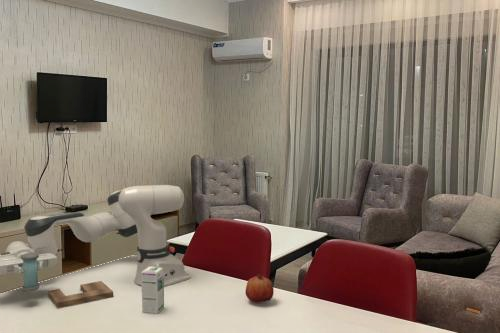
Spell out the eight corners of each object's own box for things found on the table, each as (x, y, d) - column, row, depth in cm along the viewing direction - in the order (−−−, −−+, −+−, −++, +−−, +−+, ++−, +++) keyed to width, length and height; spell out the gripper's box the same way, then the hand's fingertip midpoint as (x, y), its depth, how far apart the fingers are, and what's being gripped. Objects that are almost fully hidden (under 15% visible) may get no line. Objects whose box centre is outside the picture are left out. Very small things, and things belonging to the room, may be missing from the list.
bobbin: (37, 284, 167) (36, 251, 166) (41, 289, 163) (40, 255, 162) (20, 287, 164) (19, 254, 163) (23, 292, 160) (22, 258, 159)
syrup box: (157, 314, 157) (157, 272, 156) (141, 312, 159) (141, 270, 157) (164, 307, 163) (164, 267, 162) (148, 306, 164) (148, 265, 163)
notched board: (101, 285, 183) (101, 280, 183) (113, 296, 172) (113, 291, 172) (48, 296, 172) (47, 290, 172) (57, 308, 161) (57, 302, 161)
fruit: (279, 302, 170) (280, 275, 169) (261, 310, 162) (261, 281, 161) (257, 294, 177) (258, 268, 176) (239, 301, 169) (239, 274, 169)
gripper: (53, 263, 180) (62, 273, 169) (-8, 272, 168) (-2, 283, 157) (52, 247, 179) (62, 255, 168) (-8, 255, 167) (-3, 265, 156)
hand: (30, 269), depth 162 cm, fingers closed on bobbin, 4 cm apart
